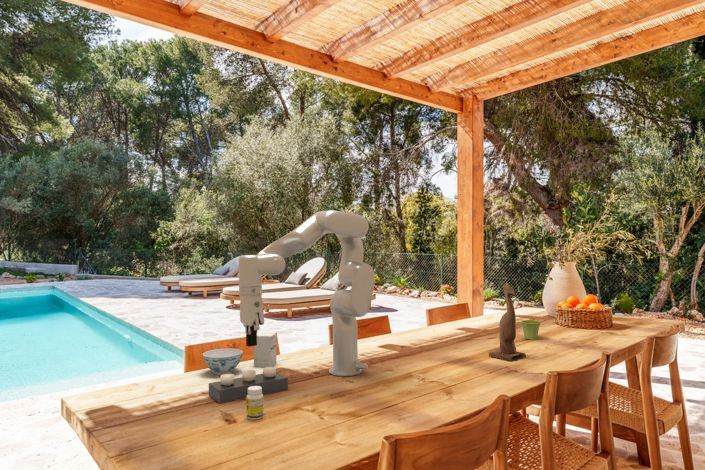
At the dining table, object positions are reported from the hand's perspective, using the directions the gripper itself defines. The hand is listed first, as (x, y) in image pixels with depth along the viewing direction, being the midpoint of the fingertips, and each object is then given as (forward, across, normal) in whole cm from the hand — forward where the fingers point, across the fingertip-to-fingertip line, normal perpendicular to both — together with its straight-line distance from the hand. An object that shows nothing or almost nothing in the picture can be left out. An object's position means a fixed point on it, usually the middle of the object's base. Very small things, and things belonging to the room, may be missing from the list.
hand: (251, 345), depth 164 cm
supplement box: (+16, +29, -19) cm, 38 cm away
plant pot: (+18, -6, -150) cm, 151 cm away
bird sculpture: (+17, -23, -107) cm, 111 cm away
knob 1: (+14, 0, +9) cm, 17 cm away
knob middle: (+14, 0, +1) cm, 14 cm away
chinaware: (+16, +29, -1) cm, 33 cm away
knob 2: (+14, -1, -6) cm, 16 cm away
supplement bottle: (+15, -23, +10) cm, 29 cm away
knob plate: (+15, 0, +2) cm, 15 cm away
